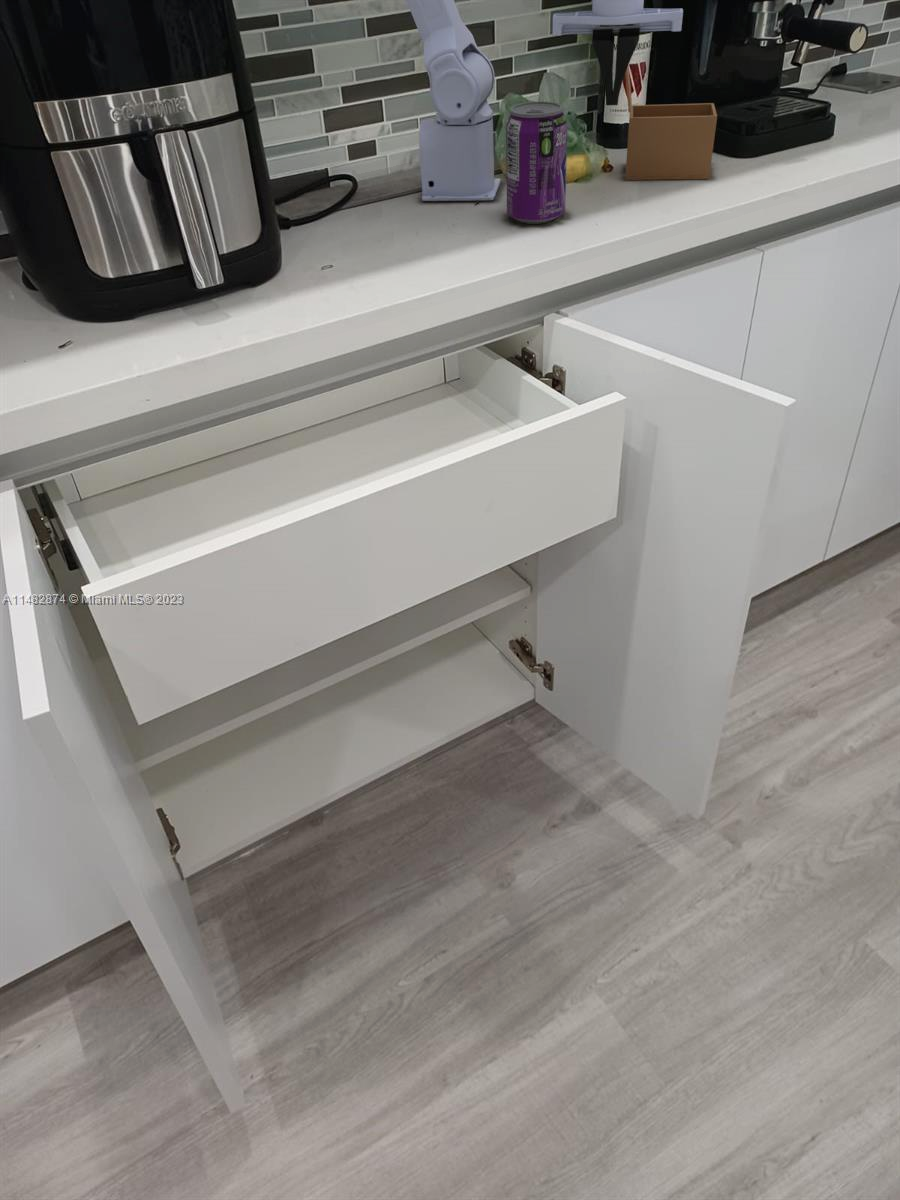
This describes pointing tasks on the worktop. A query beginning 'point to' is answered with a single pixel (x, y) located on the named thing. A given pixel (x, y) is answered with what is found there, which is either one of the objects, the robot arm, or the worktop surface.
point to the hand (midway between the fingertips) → (612, 103)
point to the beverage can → (536, 161)
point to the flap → (628, 88)
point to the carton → (670, 141)
